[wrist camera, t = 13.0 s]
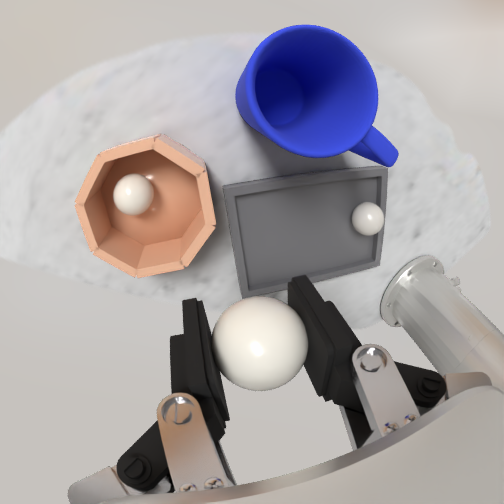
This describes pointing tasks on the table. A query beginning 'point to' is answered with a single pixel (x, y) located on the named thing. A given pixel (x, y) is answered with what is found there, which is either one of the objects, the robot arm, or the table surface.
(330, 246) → the tray
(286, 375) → the white ball
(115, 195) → the white ball
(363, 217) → the white ball
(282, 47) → the mug
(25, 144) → the table surface
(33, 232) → the table surface
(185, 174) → the bowl
